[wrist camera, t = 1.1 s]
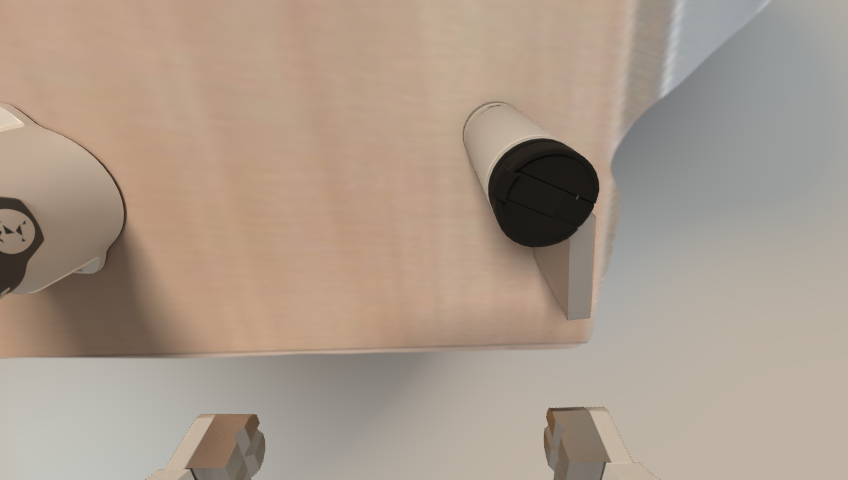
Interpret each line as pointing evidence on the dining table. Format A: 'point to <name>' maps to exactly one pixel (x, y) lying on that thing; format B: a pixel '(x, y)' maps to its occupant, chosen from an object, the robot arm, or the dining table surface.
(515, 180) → the travel mug
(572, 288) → the tile
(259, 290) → the dining table surface
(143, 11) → the dining table surface
